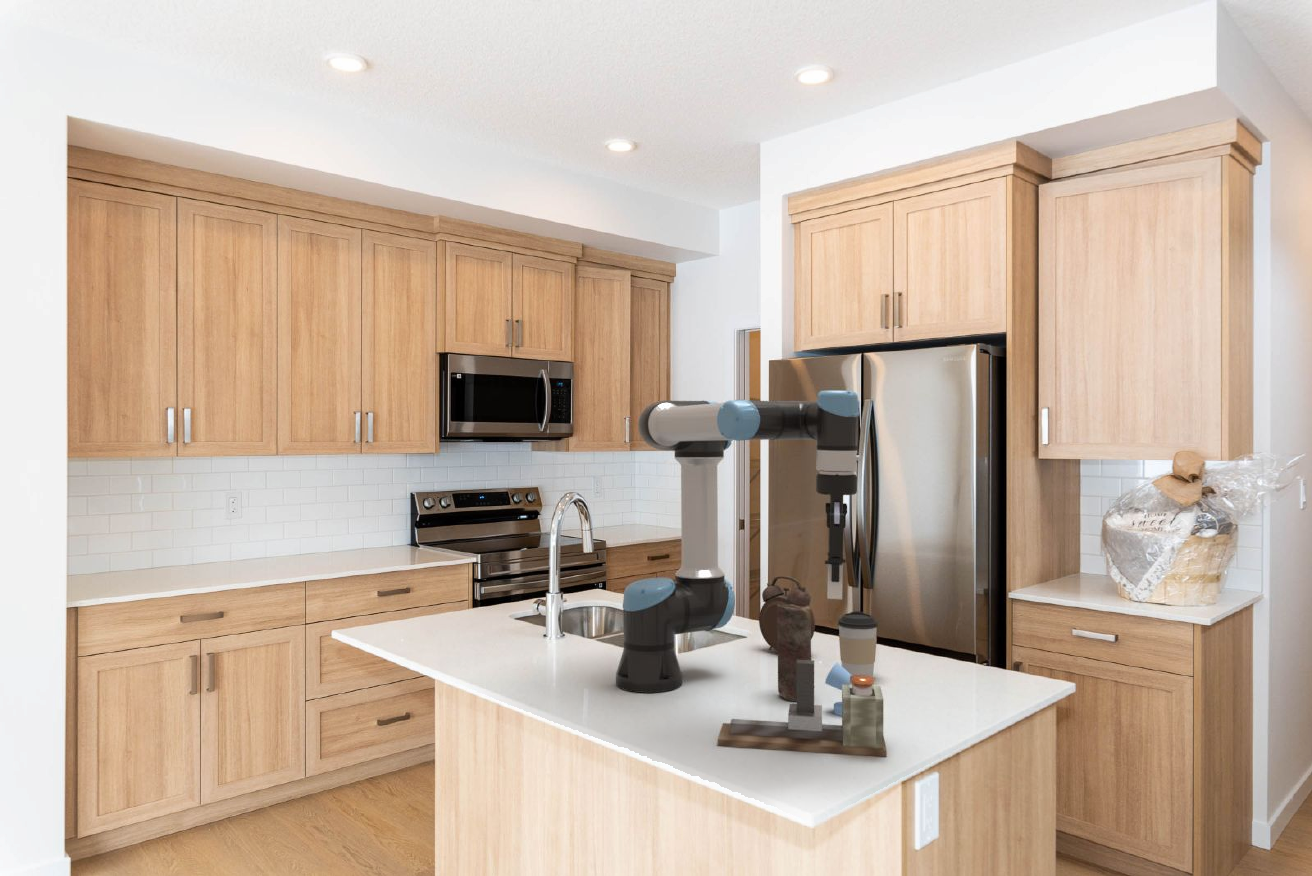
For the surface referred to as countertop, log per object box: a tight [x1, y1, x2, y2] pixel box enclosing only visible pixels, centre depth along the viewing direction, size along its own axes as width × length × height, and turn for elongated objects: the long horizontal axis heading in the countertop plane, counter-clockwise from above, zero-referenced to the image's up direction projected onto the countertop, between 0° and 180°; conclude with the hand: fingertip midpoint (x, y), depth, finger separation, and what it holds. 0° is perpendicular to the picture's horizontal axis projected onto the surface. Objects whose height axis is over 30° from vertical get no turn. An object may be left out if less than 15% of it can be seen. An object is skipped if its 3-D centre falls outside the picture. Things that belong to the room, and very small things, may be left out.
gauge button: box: [850, 675, 875, 696], centre depth 160 cm, size 4×4×8 cm
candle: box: [777, 604, 812, 702], centre depth 190 cm, size 8×7×20 cm
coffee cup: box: [837, 610, 878, 677], centre depth 204 cm, size 9×9×15 cm
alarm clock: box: [758, 575, 816, 652], centre depth 227 cm, size 15×7×20 cm, turn 44°
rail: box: [717, 685, 888, 758], centre depth 162 cm, size 30×9×10 cm, turn 79°
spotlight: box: [824, 662, 852, 717], centre depth 179 cm, size 5×10×7 cm
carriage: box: [787, 659, 823, 731], centre depth 162 cm, size 6×7×12 cm
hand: (834, 598), depth 165 cm, fingers closed
